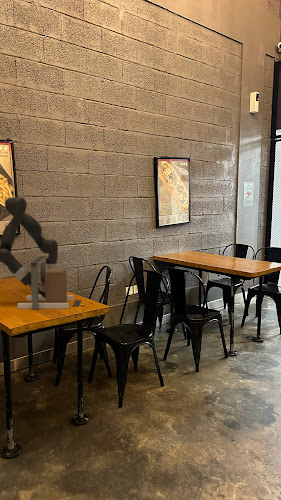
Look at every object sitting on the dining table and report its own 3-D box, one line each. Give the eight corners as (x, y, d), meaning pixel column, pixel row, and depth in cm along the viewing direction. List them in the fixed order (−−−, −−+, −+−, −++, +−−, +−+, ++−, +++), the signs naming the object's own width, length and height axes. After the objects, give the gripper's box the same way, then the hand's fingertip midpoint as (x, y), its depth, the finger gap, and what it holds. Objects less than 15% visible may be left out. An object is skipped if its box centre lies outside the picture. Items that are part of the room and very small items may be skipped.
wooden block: (62, 306, 218) (61, 271, 216) (45, 305, 219) (44, 271, 217) (67, 301, 228) (66, 268, 226) (51, 301, 229) (50, 268, 227)
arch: (41, 298, 235) (40, 256, 232) (46, 298, 236) (45, 256, 232) (32, 309, 212) (30, 262, 209) (37, 309, 212) (36, 262, 209)
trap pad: (75, 300, 231) (75, 300, 231) (81, 300, 231) (81, 300, 231) (72, 306, 217) (72, 306, 217) (78, 306, 217) (78, 306, 217)
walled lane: (27, 299, 233) (26, 295, 233) (73, 299, 234) (73, 295, 234) (17, 308, 213) (17, 304, 213) (68, 308, 214) (68, 303, 214)
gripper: (26, 273, 215) (48, 295, 216) (32, 269, 228) (53, 289, 229) (16, 282, 215) (39, 304, 217) (23, 278, 228) (44, 298, 230)
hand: (46, 296), depth 223 cm, fingers closed
